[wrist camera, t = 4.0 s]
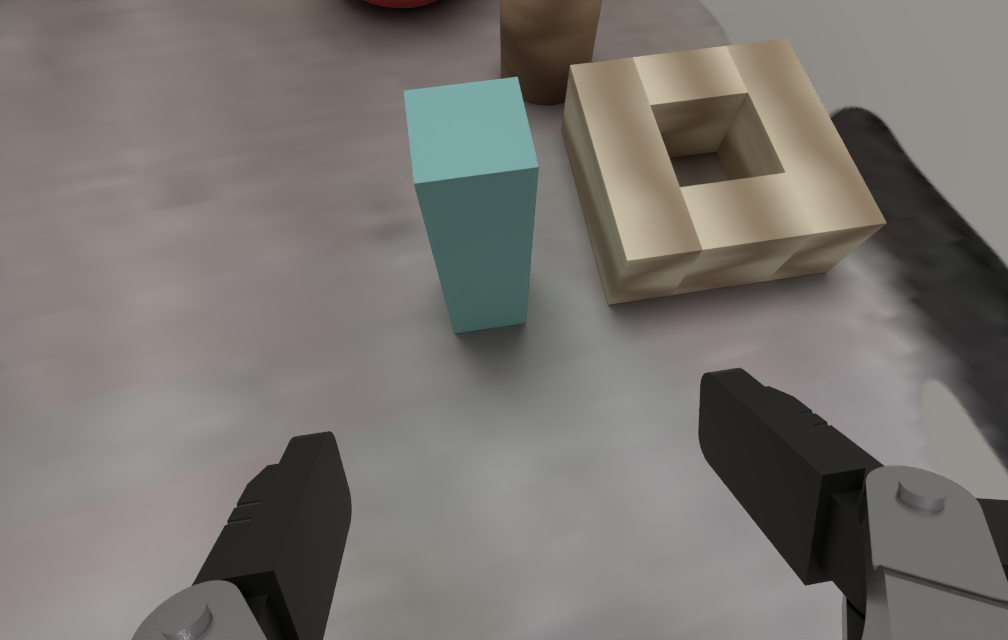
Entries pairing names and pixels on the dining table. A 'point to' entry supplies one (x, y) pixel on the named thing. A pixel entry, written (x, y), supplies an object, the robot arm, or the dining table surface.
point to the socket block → (710, 171)
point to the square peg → (476, 196)
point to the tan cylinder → (546, 44)
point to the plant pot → (400, 3)
